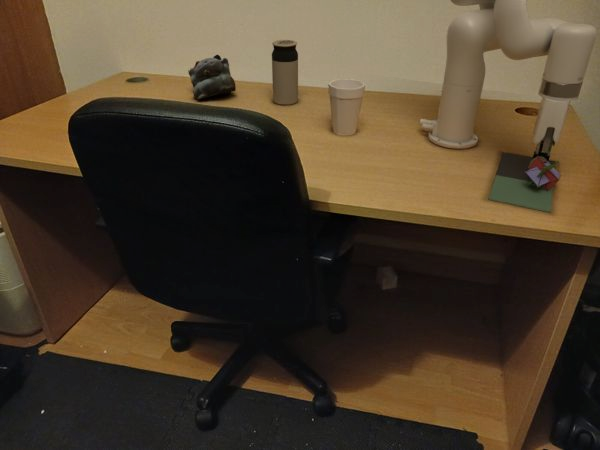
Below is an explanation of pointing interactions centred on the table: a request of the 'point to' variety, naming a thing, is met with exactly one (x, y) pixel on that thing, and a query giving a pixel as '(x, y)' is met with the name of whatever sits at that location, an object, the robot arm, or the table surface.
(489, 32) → the robot arm
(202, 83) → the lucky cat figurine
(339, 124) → the foam cup
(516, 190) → the desk pad
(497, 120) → the table surface
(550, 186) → the geometric puzzle
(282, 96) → the travel mug
